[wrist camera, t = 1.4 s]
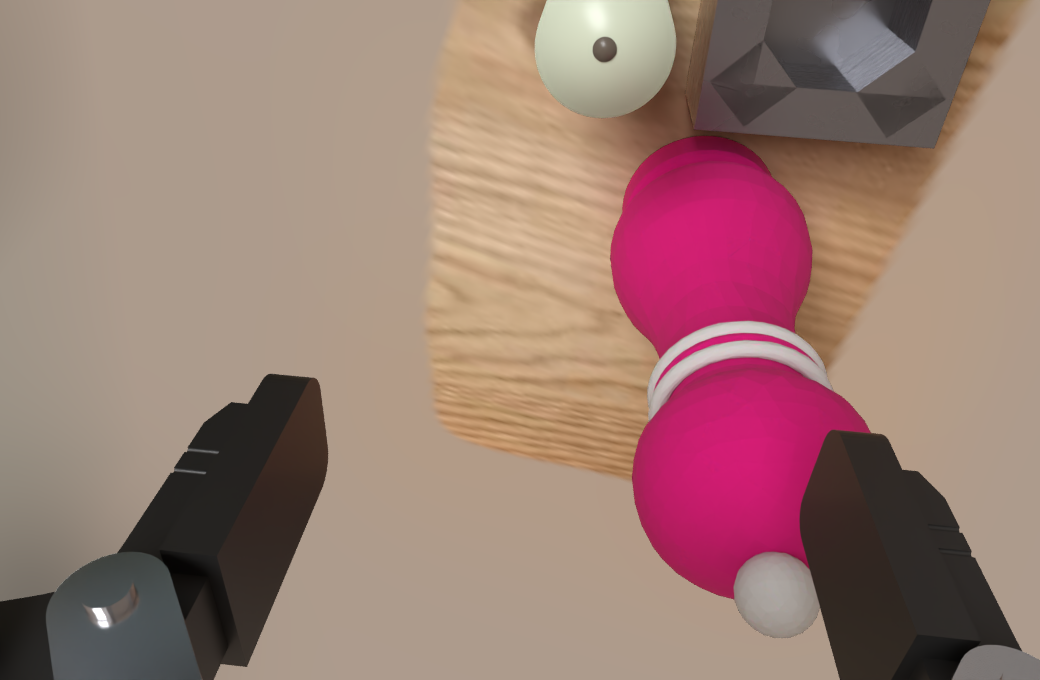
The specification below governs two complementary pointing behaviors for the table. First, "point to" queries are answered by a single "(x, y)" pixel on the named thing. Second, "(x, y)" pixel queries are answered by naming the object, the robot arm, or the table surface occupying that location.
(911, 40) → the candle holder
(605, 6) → the candle
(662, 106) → the table surface
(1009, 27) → the table surface
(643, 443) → the pepper mill
